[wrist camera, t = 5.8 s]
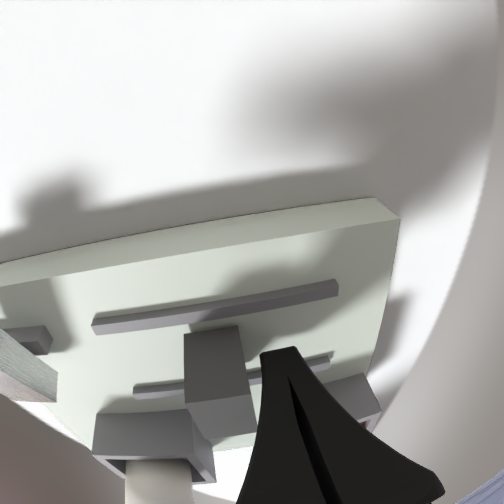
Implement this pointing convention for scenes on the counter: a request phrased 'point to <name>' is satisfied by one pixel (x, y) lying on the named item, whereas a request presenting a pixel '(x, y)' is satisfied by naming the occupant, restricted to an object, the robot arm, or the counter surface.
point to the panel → (201, 319)
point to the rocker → (25, 373)
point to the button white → (158, 482)
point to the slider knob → (218, 383)
